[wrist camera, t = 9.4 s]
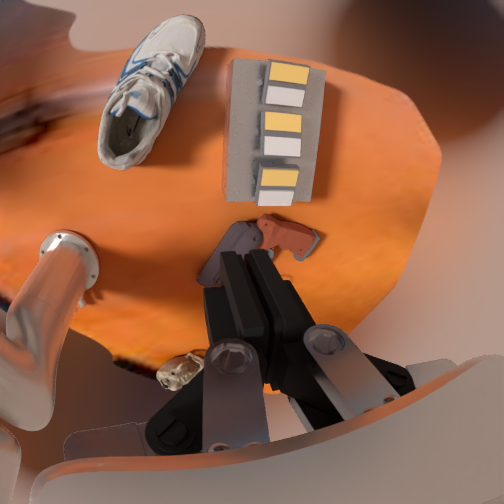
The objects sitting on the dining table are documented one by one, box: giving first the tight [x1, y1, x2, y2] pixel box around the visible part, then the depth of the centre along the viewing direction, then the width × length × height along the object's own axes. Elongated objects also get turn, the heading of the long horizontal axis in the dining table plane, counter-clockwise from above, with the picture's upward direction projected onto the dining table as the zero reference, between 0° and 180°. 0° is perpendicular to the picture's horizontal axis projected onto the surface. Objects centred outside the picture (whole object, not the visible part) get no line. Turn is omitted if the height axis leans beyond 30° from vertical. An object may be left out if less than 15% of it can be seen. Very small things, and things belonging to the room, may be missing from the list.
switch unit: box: [222, 58, 326, 202], centre depth 34 cm, size 19×12×7 cm, turn 176°
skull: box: [156, 351, 204, 391], centre depth 58 cm, size 9×18×10 cm
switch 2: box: [260, 110, 302, 158], centre depth 30 cm, size 6×5×2 cm
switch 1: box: [262, 59, 310, 108], centre depth 27 cm, size 6×5×2 cm
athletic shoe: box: [98, 14, 205, 170], centre depth 27 cm, size 10×23×12 cm, turn 160°
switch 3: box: [254, 163, 300, 206], centre depth 34 cm, size 6×5×2 cm
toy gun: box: [196, 214, 320, 288], centre depth 47 cm, size 18×5×15 cm
